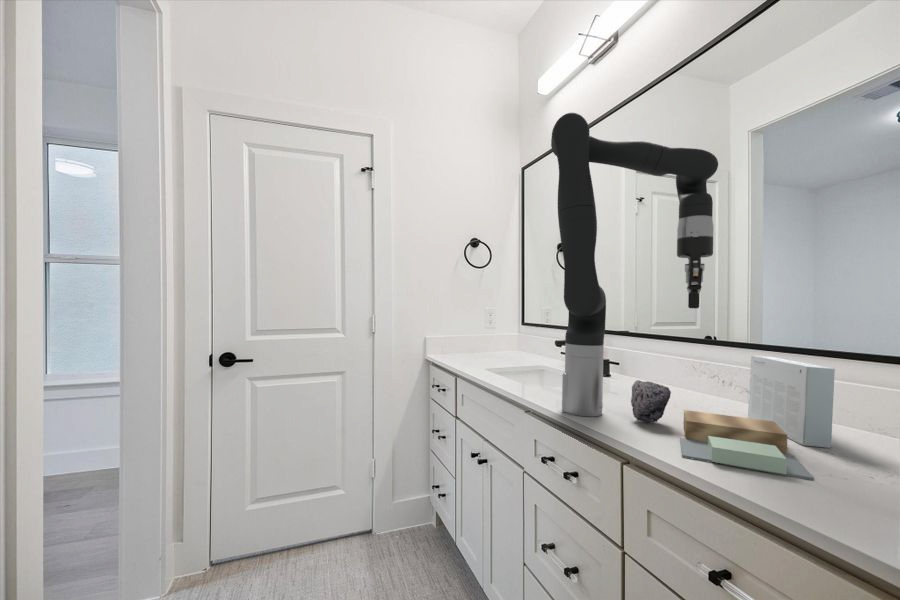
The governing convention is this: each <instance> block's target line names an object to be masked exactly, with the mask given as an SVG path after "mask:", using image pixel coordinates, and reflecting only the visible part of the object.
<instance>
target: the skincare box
mask: <svg viewBox="0 0 900 600" xmlns="http://www.w3.org/2000/svg"><path fill="white" fill-rule="evenodd" d="M749 370H750V375H749V376H750V377H749V388H748V395H749V398H748V408H747V418H751V419H759V420H767V421H774V422H775V423H776V424H777V425H778V426H779V427H780V428H781V429H782V430H783V431H784V432H785V433H786V434H787V439H790V440H791V441H794V442H795V443H797V444H799V445H802V446H805V447H806V446H807V447H819V448H827V449H828V448H830V449H831V448H832V438H833V437H832V433H833V432H832V431H833V411H834V410H833V409H834V390H835V373H836V372H835V371H836V369H835V368H832V367H827V366H823V365H818V364H814V363H813V364H812V363H809V362H808V363H807V362H801V361H797V360H791V359H787V358H786V359H785V358H780V357H775V356H763V355H750V369H749Z"/></svg>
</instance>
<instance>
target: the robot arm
mask: <svg viewBox="0 0 900 600" xmlns="http://www.w3.org/2000/svg"><path fill="white" fill-rule="evenodd" d="M550 141H551V144H550V147H551V151H552V153H553V154H554V155H555V156H556V157H557V163H558V185H557V218H558V219H557V220H558V229H559V238H560V245H561V250H562V256H563V262H564V263H563V265H564V266H563V267H564V271H563V272H564V273H563V274H564V276H563V277H564V280H563V282H564V284H563V301H564V305H565V307H566V309H567V310H568V321H567V322H568V324H567V329H566V332H565V337H564V338H565V344H564V345H565V349H564V351H565V353H564V372H563V373H562V384H561V385H562V388H561V390H562V391H561V393H562V394H561V412H564V413H567V414H570V415H575V416H581V417H598V416H601V415H603V401H604V400H603V397H604V395H603V394H604V392H603V390H604V348H605V347H604V346H605V345H604V344H605V343H604V342H605V341H604V340H605V332H606V320H607V315H606V314H607V299H606V298H607V297H606V293H605V291H604V289H603V288H602V287H601V286H600V284H599V280H598V279H599V278H598V275H597V274H598V273H597V268H596V262H595V258H596V257H595V256H596V246H597V235H598V220H597V219H598V218H597V209H596V201H595V194H594V193H595V192H594V187H593V180H592V175H591V170H590V169H591V168H590V163H594V164H599V165H600V164H601V165H607V166H614V167H619V168H623V169H628V170H632V171H636V172H640V173H644V174H647V175H651V176H656V177H662V176H663V177H664V176H666V175H675V187H676V192H677V193H676V194H677V197H678V222H677V223H678V224H677V231H676V232H677V236H676V237H677V238H676V256H677V257H678V258H680V259H688V263H685V264H684V273H685V284H687V287H686V292H687V294H688V296H687V298H688V300H687V301H688V302H687V303H688V304H687V305H688V309H699V308H700V293H701V291H702V283H703V282H704V272H705V269H706V267H705V265H706V264H705V263H702V258H709V257H712V256H713V254H714V229H715V227H714V220H713V219H714V218H713V208H714V207H713V201H714V200H713V197H712V195H711V194H710V193H708V189H707V181H708V180H709V179H711V178H712V177H713V176H714V174H715V173H716V172H717V171H718V168H719V161H718V158H717V156H715V155H714V154H713V153H711V152H710V151H709V150H708V151H707V150H705V149H700V148H694V147H693V148H690V147H669V146H666V145H662V144H658V143H653V142H650V141H649V142H648V141H643V140H609V139H608V140H606V139H601V138H598V137H594V136H592V135H590V126H589V123H588V121H587V120H586V118H585V117H584V116H582V115H581V114H580V113H577V112H568V113H564V114H563V115H561V116H560V117H559V118H558V119H557V121H556V122H555V124H554V126H553V127H552V132H551V139H550Z"/></svg>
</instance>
